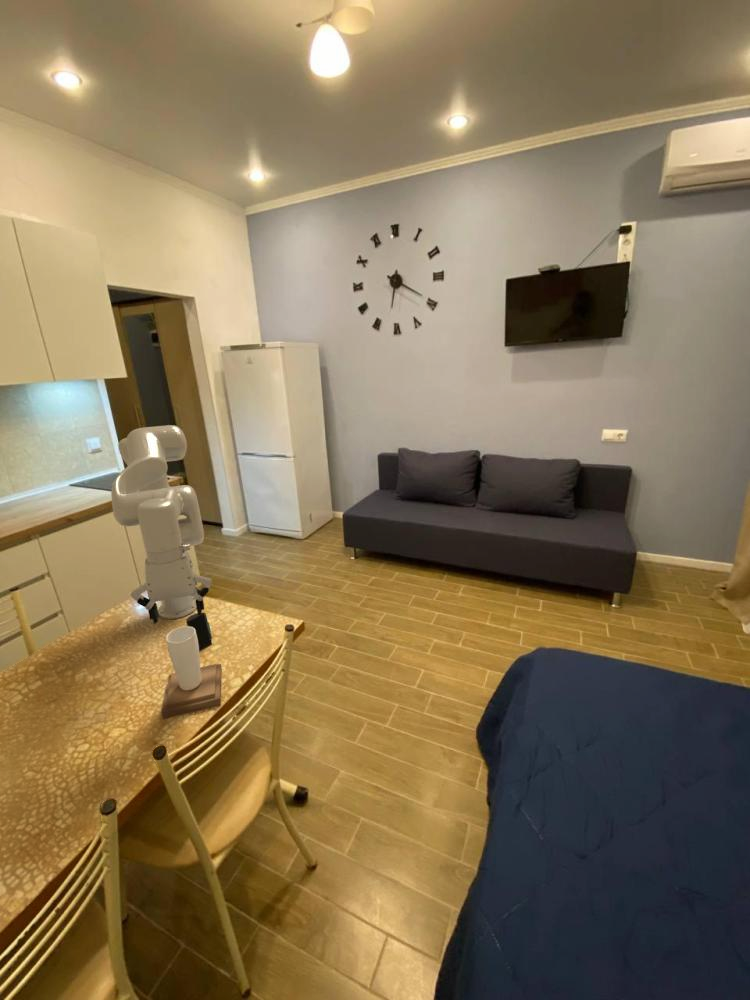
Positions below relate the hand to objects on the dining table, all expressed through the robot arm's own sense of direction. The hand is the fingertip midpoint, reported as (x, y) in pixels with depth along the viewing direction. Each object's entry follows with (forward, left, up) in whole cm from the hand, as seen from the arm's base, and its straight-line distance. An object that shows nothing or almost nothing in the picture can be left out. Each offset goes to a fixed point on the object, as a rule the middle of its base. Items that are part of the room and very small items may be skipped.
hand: (178, 616), depth 101 cm
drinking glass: (+1, 0, -20) cm, 20 cm away
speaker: (-20, 0, -23) cm, 31 cm away
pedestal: (+1, 0, -23) cm, 23 cm away
